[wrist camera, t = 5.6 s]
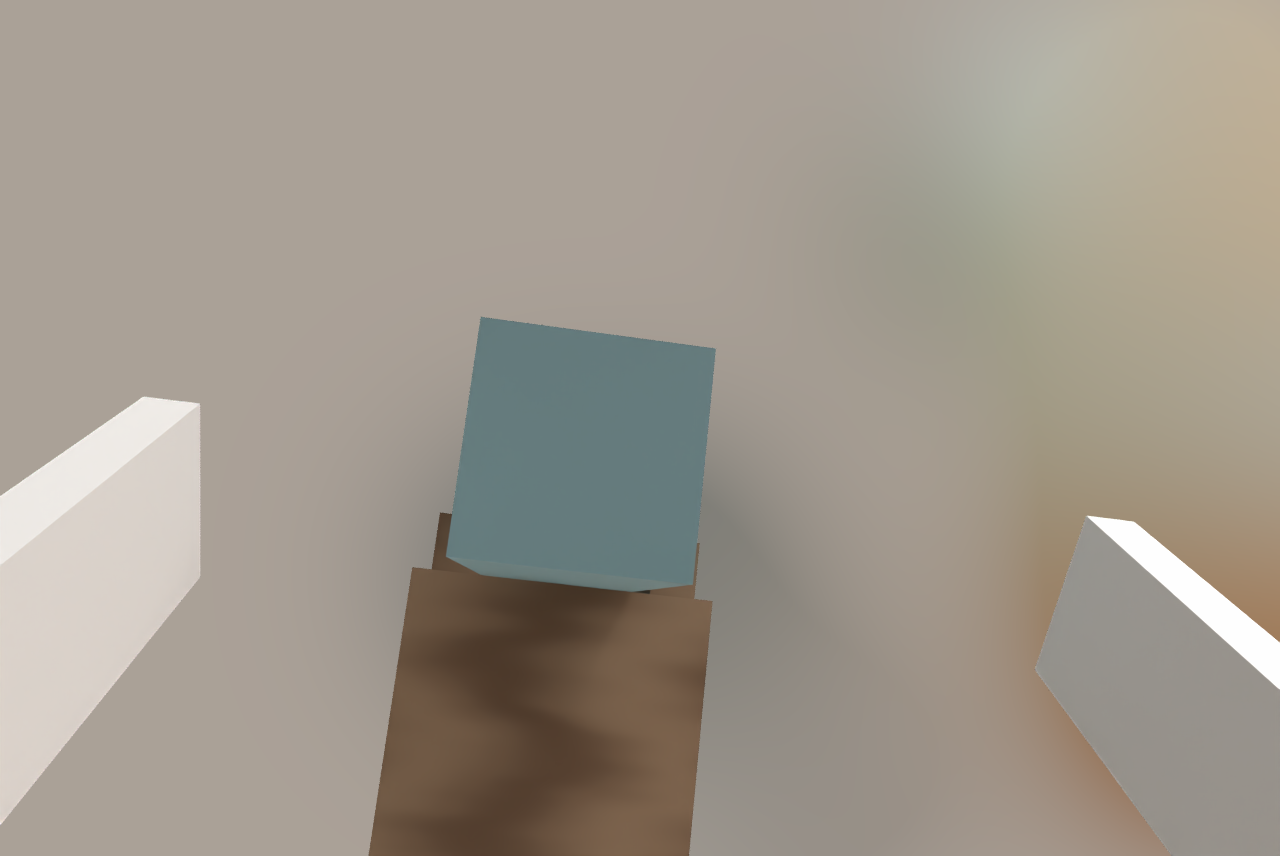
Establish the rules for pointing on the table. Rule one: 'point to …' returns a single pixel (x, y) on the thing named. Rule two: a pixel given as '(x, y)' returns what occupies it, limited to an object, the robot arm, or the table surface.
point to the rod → (582, 458)
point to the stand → (541, 718)
